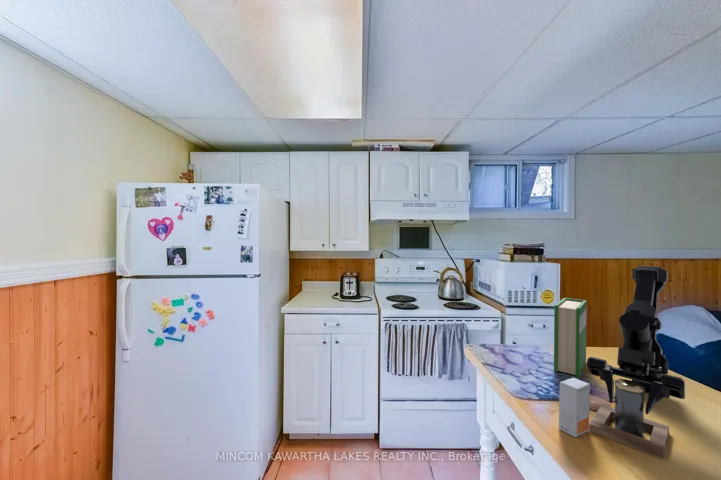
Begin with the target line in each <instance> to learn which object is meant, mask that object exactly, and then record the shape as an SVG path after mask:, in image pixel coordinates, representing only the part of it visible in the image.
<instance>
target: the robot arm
mask: <svg viewBox="0 0 721 480" xmlns="http://www.w3.org/2000/svg"><path fill="white" fill-rule="evenodd" d="M631 280H634V283H635V284H636V285H635V288H634V294H633V295H634V296H633V301H632V302H631V303H629V304H627V306H626V308H625V312H624V313H623V312H622V314H621V316H620V317H619V319H618V322H619V325H620V330H621V335H622V337H623V343H622V347H620V346H619V347H618V350H617V362H616V364H617V366H618V367H616V366H612V365H610V364H608V362H607V360H606V359H603V358H600V357H599V358H598V357H595V356H590V357H588V358H586V367H587V370H588V373H589V374H590V375H592V376H595V377H599V379H600V380H601V381H603V382H604V383H605V385H606V389H607V394H608V395H607V396H608V400H609V403H610V404H613V403H614V398H615V395H614V394H615V379H614V376H618V377H622V378H624V379H625V378H626V379H628V380H631V381H634V382H637V383H639V384H641V385H643V386H644V387H645V392H644V394H645V393H646V394H648V397H647V401H646V403H645V408H644V411H645V412H644V413H645V415H647V416H648V415H649V414H650V413H651V411H652V410H653V408H655V406H656V405H657V404H658V403H659V402H661V400H663V399H664V398H665V399H670V397H673V398H675V399H676V398H677V399H680V400H685V398H686V383H685V382H686V381H685V380H684V379H683V378H682V377H679V376H674V375H672V374H671V375H670V374H669V361H668V359H666V358H667V357H666V355H665V354H663V349H662V347H661V345H660V344H659V342H658V341H657V332H659V331H660V330H661V329H662V326H663V325H662V324H663V323H662V322H661V320H660V318H659V317H658V298H659V294H660V293H661V292H662V291H663V290H664V289H665V287H666V283H668V281H669V270H667V269H666V270H665V269H664V266H656V265H655V266H650V265H638V266H637V267H635V268H632V269H631Z"/></svg>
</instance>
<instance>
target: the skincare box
mask: <svg viewBox="0 0 721 480" xmlns="http://www.w3.org/2000/svg"><path fill="white" fill-rule="evenodd" d="M590 392H591V384H590V383H589V382H586V381H583V380H580V379H579V378H576V377H572V378H568V379H565V380H563V381H560V382H559V397H558V399H559V401H558V402H559V403H558V429H559V430H561V431H562V432H565V433H567V435H568V434H569V435H570V436H572V437H574V438H578V437H579V436H582V435H584V434H586V433H588V432H590V431H589V423H590V409H589V405H590V395H591V393H590Z"/></svg>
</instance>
